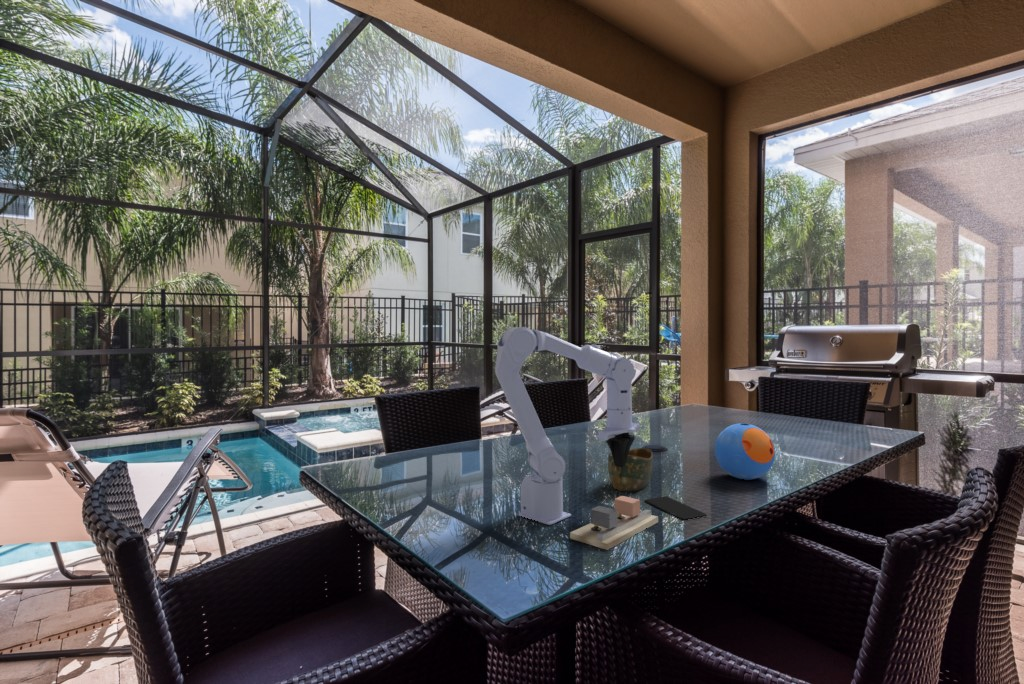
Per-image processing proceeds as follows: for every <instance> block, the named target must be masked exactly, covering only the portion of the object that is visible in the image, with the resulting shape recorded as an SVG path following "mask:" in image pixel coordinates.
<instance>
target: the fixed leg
mask: <svg viewBox="0 0 1024 684" xmlns="http://www.w3.org/2000/svg"><path fill="white" fill-rule="evenodd" d="M590 523H591V524H594V528H595V529H598V528H599V526H601V527H604V528H608V529H611V528H613V527H615V526H617V525H618V510H615V508H610V507H607V506H601V505H598V506H595V507H592V508H591V509H590Z"/></svg>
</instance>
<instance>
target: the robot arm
mask: <svg viewBox="0 0 1024 684" xmlns="http://www.w3.org/2000/svg"><path fill="white" fill-rule="evenodd" d="M496 346H497V353H496V360H495V366H494V373H495V376H496V378H497V380H498V383H499V385H500V387H501V390H502V392H503V395H504V396H505V398H506V401H507V404H508V406H509V408H510V410H511V412H512V414H513V416H514V419H515V421H516V424H517V426H518V427H519V430H520V432H521V434H522V437H523V439H524V441H525V448H526V450H527V454H528V458H527V460H528V465H529V466H530V468H531V469H532V472H531V473H530V474H529V475H527V476H525V477H524V478H523V480H522V482H521V485H520V512H519V513H518V516H519V517H521V516H522V518H524V517H525V518H524V519H527V518H528V519H529V520H531V519H532V520H531V521H534V520H535V521H534V522H537V521H538V522H537V523H541V524H544V525H548V526H552V525H554V524H556V523H558V522H560V521H563V520H565V519H567V518H569V517H571V516H572V514H571V513H569V512H565V511H564V504H563V503H564V498H563V497H564V495H563V494H564V493H563V492H564V490H563V489H564V488H563V476H564V474H565V472H566V461H565V460H564V458H563V456H561V455H560V454H559V453H558V452H557V451H556V449H555V447H554V445H553V444H552V442H551V441H550V439H549V438H548V436H547V434H546V431H545V430H544V427H543V425H542V423H541V420H540V418H539V415H538V413H537V410H536V409H535V407H534V404H533V401H532V400H531V397H530V395H529V394H528V393H529V392H528V391H527V389H526V385H525V384H524V382H523V380H522V378H521V377H522V376H521V374H520V372H521V370H522V367H523V365H524V363H525V361H526V359H528V357H529V356H531V354H532V353H533V352H541V351H548V352H550V353H554V354H557V355H561V356H562V357H565V358H568V359H571V360H574V361H575V362H576V365H577V366H578V368H579V369H581V370H584V371H587V372H589V373H592V374H595V375H597V376H600V377H604V378H605V380H606V421H607V422H606V427H604V428H603V429H602V430H599V431H598V440H600V441H604V442H606V443H607V445H608V448H609V449H610V453H612V456H613V460H614V464H615V466H618V467H624V466H625V465H626V461H627V457H628V453H629V450H631V446H632V445H633V443H634V441H635V439H636V438H635V435H634V434H633V435H632V434H630V433H635V432H637V433H638V432H640V423H638V422H633V413H632V412H633V404H632V403H633V402H632V401H633V400H632V383H633V380H634V378H635V377H636V374H637V369H635V366H634V364H633V362H632V361H631V360H630V359H628V358H626V357H617V353H616V352H613V351H611V352H608V351H605V350H603V349H600V348H599V347H600V346H599V345H597V344H593V343H591V345H590V344H585V345H584V346H581V347H579V346H578V345H576V344H573V343H571V342H568V341H566V340H564V339H561V338H559V337H557V336H555V335H552V334H550V333H548V332H545V331H541V330H537V329H531V328H529V327H526V326H520V327H515V326H514V327H509V328H507V329H505V330H504V332H502V334H501V336H500V338H499V339H498V341H497V345H496Z"/></svg>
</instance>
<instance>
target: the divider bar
mask: <svg viewBox="0 0 1024 684" xmlns="http://www.w3.org/2000/svg"><path fill="white" fill-rule="evenodd" d="M651 515H652V510H650V509H644V510H642V511H640V514H638V515H636V516H634V517H630V518H628V519H626V520H624V521H622V522H620V523H618V525H617V526H615V527H613V528H611V529H606V530H604V531H602V532H600V533H598V534H597V538H598V540H600V541H604V540H606V539H608V538H610V537H612V536H614V535H616V534H618V533H620V532H621V531H623V530H625V529H627V528H629V527H631V526H633V525H635V524H637V523H639V522H640V521H642V520H644V519H646V518H648V517H650V516H651Z"/></svg>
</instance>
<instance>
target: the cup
mask: <svg viewBox="0 0 1024 684" xmlns="http://www.w3.org/2000/svg"><path fill="white" fill-rule="evenodd" d="M653 463H654V457H653V452H652V450H651V449H649V448H646V447H636V448H632V449H630V450H629V453H628V457H627V461H626V465H625V466H624V467H618V466H615V464H614V460H613V456H612V453H611V452H610V453H608V457H607V466H608V467H607V469H608V470H607V471H608V476H609V480H610V482H611V485H612V486H613V489H615V490H616V489H617V491H619V492H625V491H628V492H629V493H631V491H633V492H637V491H641V490H643V489H644V488H646V487H647V486H648V485H649V480H650V478H651V477H652V473H653V465H654V464H653Z"/></svg>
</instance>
